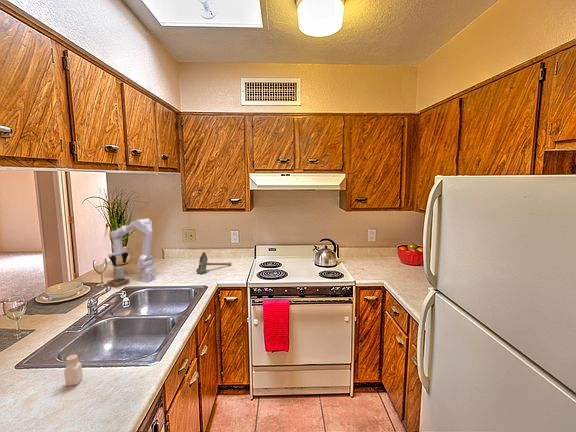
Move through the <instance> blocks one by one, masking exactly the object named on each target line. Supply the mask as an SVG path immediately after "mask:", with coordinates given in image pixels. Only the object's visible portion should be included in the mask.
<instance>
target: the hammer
mask: <svg viewBox="0 0 576 432" xmlns="http://www.w3.org/2000/svg"><path fill="white" fill-rule="evenodd" d="M208 266H232V262H208V256H207V253H206V252H204V251H203V252H202V253H201V256H200V257H199V260H198V268H196V271H195V272H196V273H198V274H202V275H203V274H207V273H208V270H207V267H208Z"/></svg>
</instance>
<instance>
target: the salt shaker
mask: <svg viewBox="0 0 576 432" xmlns="http://www.w3.org/2000/svg"><path fill="white" fill-rule="evenodd" d="M78 356H79V355H78V354H71V355H68V356H67V357H66V358H65V360H66V361H65V362H66V366H65V368H64V370H63V372H64V381H65V382H64V383H65V386H66V387H68V386H77V385H78V384H80V382H81V381H82V379H83V368H82V367H83V366H82V362H80V361H79V357H78Z"/></svg>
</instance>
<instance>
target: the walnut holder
mask: <svg viewBox="0 0 576 432" xmlns="http://www.w3.org/2000/svg"><path fill="white" fill-rule="evenodd" d="M106 284H107V287H111V288H117V289H118V288H120V287H123V286H125V285H128V284H130V279H129V278H125V277H124V278H121V277H120V278H116V277H115V278H113V279H111V280H107V282H106Z"/></svg>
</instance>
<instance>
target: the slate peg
mask: <svg viewBox="0 0 576 432" xmlns="http://www.w3.org/2000/svg"><path fill="white" fill-rule="evenodd" d="M114 273H115V279H116V278H120V277H121V278H125V268H124V267H123V266H118V267H115V268H114Z"/></svg>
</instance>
